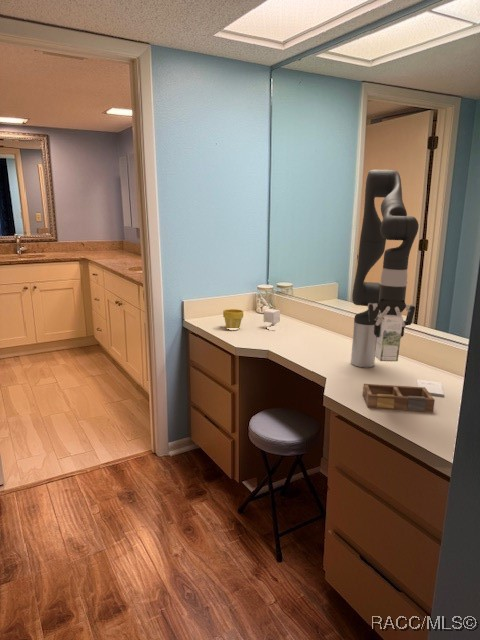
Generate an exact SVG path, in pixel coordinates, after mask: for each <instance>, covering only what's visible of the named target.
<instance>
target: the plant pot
mask: <svg viewBox="0 0 480 640" xmlns="http://www.w3.org/2000/svg"><path fill="white" fill-rule="evenodd" d="M222 316H223V318H224V322H225V328H226V327H227V328H239V327H240V328H241V325H242V320H243V318H244V310H242V309H237V308H230V309H229V308H227V309H224V310H223V313H222ZM240 328H239V329H240Z"/></svg>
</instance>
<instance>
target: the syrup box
mask: <svg viewBox="0 0 480 640" xmlns="http://www.w3.org/2000/svg"><path fill="white" fill-rule="evenodd" d="M381 314H382V313H380V315H381ZM403 320H404V317H403V315H402V316H397V315H383V319H382V321H381V323H380V324H379V325H380V331H379V337H376V344H375V353H374V356H375V359H377V360H378V361H380V362H398V361H399V355H400V346H401V339H402V337H401V331H402V323H403Z"/></svg>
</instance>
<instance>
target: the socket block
mask: <svg viewBox="0 0 480 640" xmlns="http://www.w3.org/2000/svg"><path fill="white" fill-rule="evenodd" d="M362 397H363V400H364V402H365V405H366V407H367V409H368V408H370V409H380V410H381V409H384V410H399V411H411V412H413V411H414V412H427V413H434V408H435V400H436V399H435V398H434V397H433V396H431V394H430V393H429V392H428V391H427V389H426V388H425V387H417V386H409V385H407V386H405V385H392V384H391V385H390V384H376V383H363V387H362Z"/></svg>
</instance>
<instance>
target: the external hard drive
mask: <svg viewBox="0 0 480 640" xmlns="http://www.w3.org/2000/svg"><path fill="white" fill-rule="evenodd" d="M416 385H417V386H416V387H425V388H426V389H427V391H428V392H429V393H430V394H431V396H432V397H433V396H434V397H440V398H445V392H444V388H443V383H442V382H439V381H433V380H425V379H417V380H416Z"/></svg>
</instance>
